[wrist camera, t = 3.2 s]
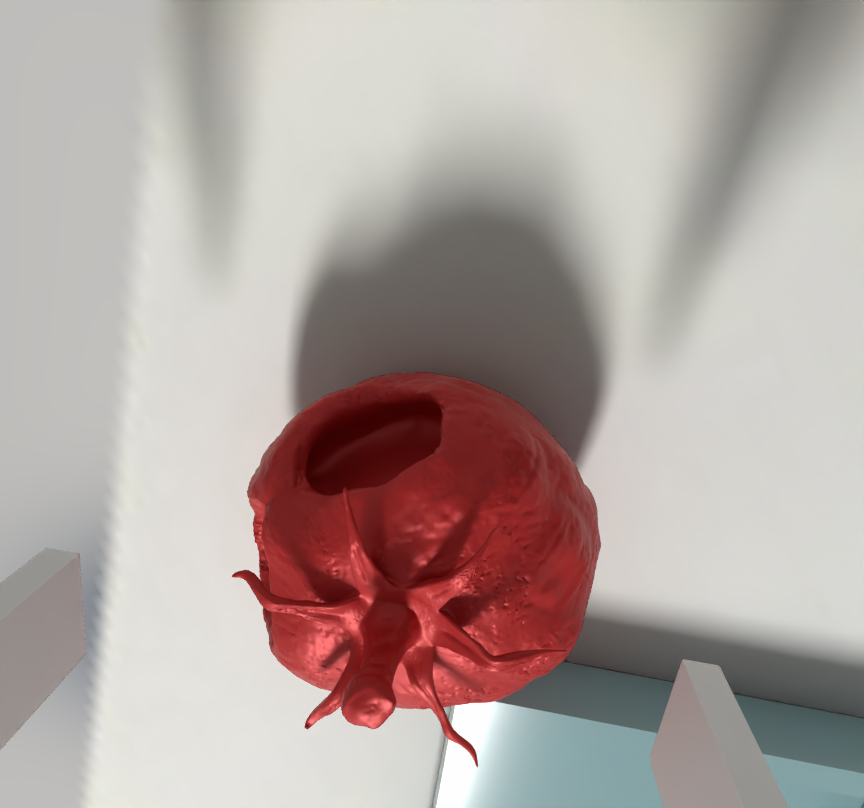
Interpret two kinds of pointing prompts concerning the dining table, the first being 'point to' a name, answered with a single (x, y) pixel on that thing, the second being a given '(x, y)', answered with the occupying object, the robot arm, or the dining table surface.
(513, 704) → the dish
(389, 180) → the dining table surface
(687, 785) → the robot arm
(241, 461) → the dining table surface
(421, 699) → the pomegranate
